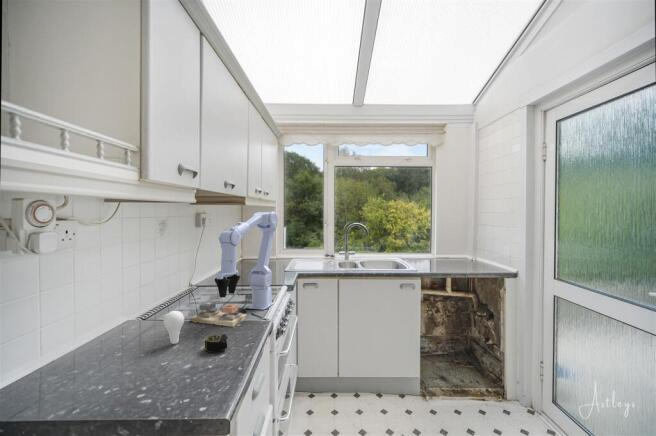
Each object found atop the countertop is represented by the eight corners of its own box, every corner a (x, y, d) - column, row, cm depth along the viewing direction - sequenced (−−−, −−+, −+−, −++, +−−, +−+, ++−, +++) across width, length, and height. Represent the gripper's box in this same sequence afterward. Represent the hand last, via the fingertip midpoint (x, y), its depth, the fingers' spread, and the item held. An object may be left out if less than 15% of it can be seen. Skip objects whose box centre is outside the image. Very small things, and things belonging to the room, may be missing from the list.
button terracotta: (229, 308, 123) (229, 303, 123) (238, 309, 122) (238, 304, 122) (222, 312, 119) (222, 306, 119) (231, 313, 118) (231, 307, 118)
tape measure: (227, 352, 94) (227, 340, 94) (203, 356, 92) (203, 343, 92) (227, 343, 100) (227, 332, 100) (205, 346, 98) (205, 335, 98)
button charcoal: (206, 306, 126) (206, 301, 126) (215, 307, 125) (215, 302, 125) (199, 309, 122) (199, 304, 122) (208, 310, 121) (208, 305, 121)
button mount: (207, 313, 130) (206, 307, 130) (247, 317, 124) (247, 311, 124) (190, 321, 120) (189, 315, 120) (232, 326, 114) (232, 320, 114)
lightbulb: (179, 348, 97) (178, 314, 97) (160, 348, 97) (159, 314, 97) (188, 339, 103) (187, 308, 103) (170, 340, 103) (169, 308, 103)
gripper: (227, 259, 127) (226, 291, 126) (210, 261, 113) (208, 298, 112) (243, 259, 126) (242, 292, 125) (227, 262, 112) (226, 299, 111)
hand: (227, 295), depth 118 cm, fingers open, 7 cm apart
